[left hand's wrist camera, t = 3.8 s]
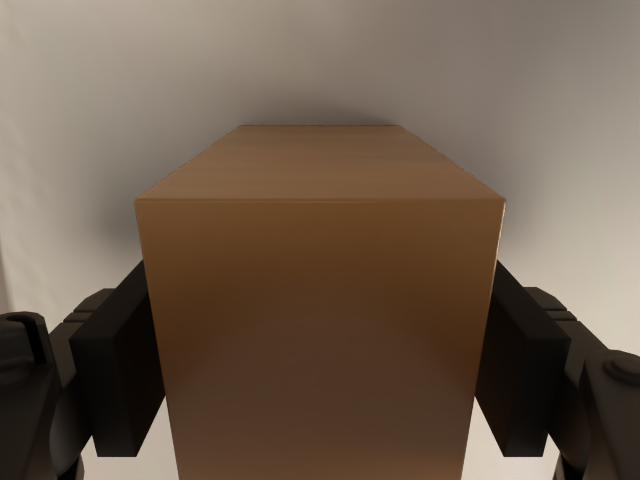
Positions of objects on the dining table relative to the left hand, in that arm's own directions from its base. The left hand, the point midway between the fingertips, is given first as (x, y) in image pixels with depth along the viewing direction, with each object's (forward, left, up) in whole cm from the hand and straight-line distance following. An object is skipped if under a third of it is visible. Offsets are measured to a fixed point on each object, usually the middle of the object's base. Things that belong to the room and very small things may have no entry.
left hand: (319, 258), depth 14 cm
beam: (+29, 0, -1) cm, 29 cm away
